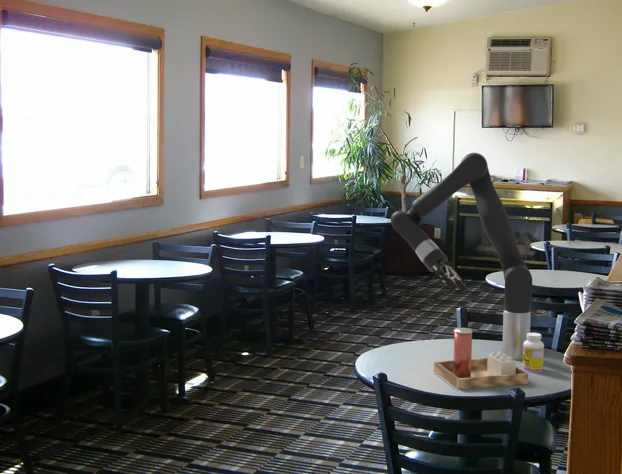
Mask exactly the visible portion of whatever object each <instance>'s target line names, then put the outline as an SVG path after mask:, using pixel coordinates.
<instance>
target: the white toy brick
mask: <svg viewBox="0 0 622 474" xmlns="http://www.w3.org/2000/svg"><path fill="white" fill-rule="evenodd" d="M487 358H488V360H487V372H488V373H490V374H491V375H493V376H497V375H510V374H516V367H517V360H516V361H515V360H513V359H512V357H510V356H508V355H507V354H503V352H502V350H500V351H498V353H497V352H496V351H492V352H491V353H487Z"/></svg>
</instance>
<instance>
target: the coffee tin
mask: <svg viewBox="0 0 622 474" xmlns="http://www.w3.org/2000/svg"><path fill="white" fill-rule="evenodd" d="M473 332H474V331H473V329H472V328H469V327H455V328H454V329H453V335H454V337H453V338H454V339H453V360H454V368H453V374H454V375H456V376H457V377H458V378H471V359H473V358H472V355H473V352H472V350H473V349H472V348H473Z"/></svg>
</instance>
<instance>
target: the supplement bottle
mask: <svg viewBox="0 0 622 474" xmlns="http://www.w3.org/2000/svg"><path fill="white" fill-rule="evenodd" d="M541 340H542V334H541V333H538V332H531V333H527V341H525V342H524V344H523V360H522V371H524V372H527V373H542V372H544V353H545V351H544V350H545V344H544V342H543V341H541Z"/></svg>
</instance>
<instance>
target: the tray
mask: <svg viewBox="0 0 622 474" xmlns="http://www.w3.org/2000/svg"><path fill="white" fill-rule="evenodd" d="M487 360H488V357H482V358H481V357H480V358H472V359H471V378H458V377H457V376H456V375H454V374H453V368H454V359H453V360H441V361H433V372H434V373H433V374H434V375H436V376H437V377H438V378H439V379H441V380H442V381H443V382H444V383H446V384H447V385H448V386H450V388H452V389H453V390H455V391H456V392H459V391H458V390H468V389H469V390H470V389H471V390H472V389H480V388H493V387H494V388H495V387H505V386H520V385H528V383H529V373H528V372H527V371H524V370H523V369H522V368H521V369H520V368H519V367H517V366H516V374H510V375H497V376H493V375H491V374H490V373H488V372H487Z"/></svg>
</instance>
